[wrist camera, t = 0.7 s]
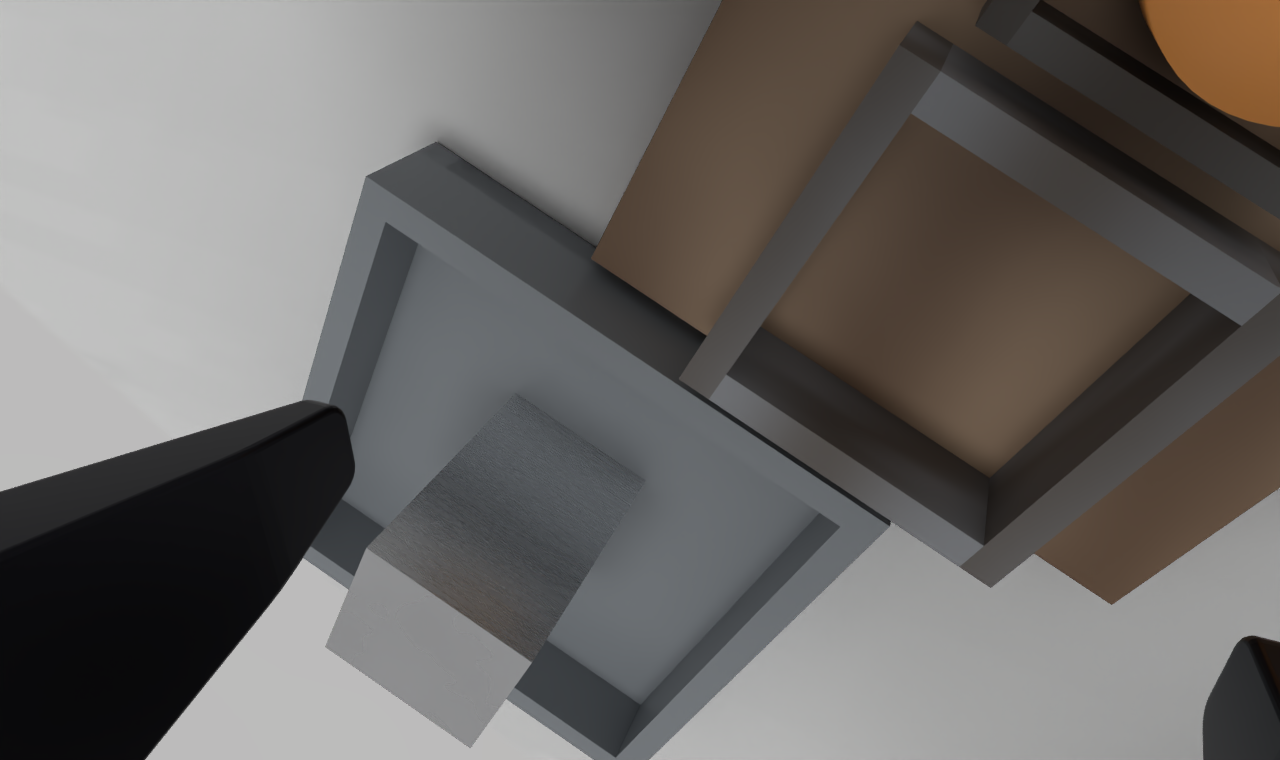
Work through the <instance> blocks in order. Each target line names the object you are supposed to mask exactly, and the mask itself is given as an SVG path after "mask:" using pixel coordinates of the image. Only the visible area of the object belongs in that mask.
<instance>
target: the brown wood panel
mask: <svg viewBox="0 0 1280 760" xmlns="http://www.w3.org/2000/svg"><path fill="white" fill-rule="evenodd" d="M591 259H592V260H593V261H595V262H596V263H598V264H599V265H601V266H602V267H604V268H605V269H607V270H608V271H610V272H611V273H613V274H614V275H616V276H617V277H619V278H621V279H622V280H624V281H625V282H627V283H628V284H630V285H631V286H633V287H634V288H636V289H637V290H639V291H640V292H642V293H643V294H645V295H646V296H648V297H649V298H651V299H652V300H654V301H655V302H657V303H658V304H660V305H661V306H663V307H664V308H666V309H667V310H669V311H670V312H672V313H673V314H675V315H676V316H678V317H679V318H681V319H682V320H684V321H685V322H687V323H688V324H690V325H691V326H693V327H694V328H696V329H697V330H699V331H700V332H702V333H703V334H705V335H706V336H707V337H706V338H705V340H704V341H703V343H702V344H701V346H700V347H699V349H698V350H697V352H696V353H695V355H694V356H693V358H692V359H691V361H690V362H689V364H688V365H687V367H686V368H685V370H684V371H683V373H682V374H681V376H680V377H679V380H681V381H682V382H684V383H685V384H687V385H688V386H690V387H691V388H693V389H694V390H696V391H697V392H698V393H700V394H701V395H703V396H704V397H706V398H707V399H709V400H710V401H712V402H713V403H715V404H716V405H718V406H719V407H721V408H722V409H724V410H725V411H727V412H728V413H730V414H731V415H733V416H734V417H736V418H737V419H739V420H740V421H742V422H743V423H745V424H746V425H748V426H749V427H751V428H752V429H754V430H755V431H757V432H758V433H760V434H761V435H763V436H764V437H766V438H767V439H769V440H770V441H772V442H773V443H775V444H776V445H778V446H779V447H781V448H782V449H784V450H785V451H787V452H788V453H790V454H791V455H793V456H794V457H796V458H797V459H799V460H800V461H802V462H803V463H805V464H806V465H808V466H809V467H811V468H812V469H814V470H815V471H817V472H818V473H820V474H821V475H823V476H824V477H826V478H827V479H829V480H830V481H832V482H833V483H835V484H836V485H838V486H839V487H841V488H842V489H844V490H845V491H847V492H848V493H850V494H851V495H853V496H854V497H856V498H857V499H859V500H860V501H862V502H863V503H865V504H866V505H868V506H869V507H871V508H872V509H874V510H875V511H877V512H878V513H880V514H881V515H883V516H884V517H886V518H887V519H889V520H890V521H892V522H893V523H895V524H896V525H898V526H899V527H901V528H902V529H904V530H905V531H906V532H908V533H909V534H911V535H912V536H914V537H915V538H917V539H918V540H920V541H921V542H923V543H924V544H926V545H927V546H929V547H930V548H932V549H933V550H935V551H936V552H938V553H939V554H941V555H942V556H944V557H945V558H947V559H948V560H950V561H951V562H953V563H954V564H956V565H957V566H959V567H960V568H962V569H963V570H965V571H966V572H968V573H969V574H971V575H972V576H974V577H975V578H977V579H978V580H980V581H981V582H983V583H984V584H986V585H987V586H989V587H990V588H991V587H992V586H994V585H995V584H996V583H997V582H999V581H1000V580H1001V579H1002V578H1004V577H1005V576H1006V575H1007V574H1009V573H1010V572H1011V571H1012V570H1014V569H1015V568H1016V567H1017V566H1019V565H1020V564H1021V563H1022V562H1024V561H1025V560H1026V559H1027V558H1029V557H1030V556H1031V555H1032V554H1036V555H1037V556H1039V557H1040V558H1042V559H1043V560H1045V561H1046V562H1048V563H1049V564H1051V565H1052V566H1054V567H1055V568H1057V569H1058V570H1060V571H1061V572H1063V573H1064V574H1066V575H1067V576H1069V577H1070V578H1072V579H1073V580H1075V581H1076V582H1078V583H1079V584H1081V585H1082V586H1084V587H1085V588H1087V589H1088V590H1090V591H1091V592H1093V593H1094V594H1096V595H1098V596H1099V597H1101V598H1102V599H1104V600H1105V601H1107V602H1108V603H1110V604H1111V605H1112V604H1114V603H1115V602H1117V601H1118V600H1119V599H1121V598H1122V597H1124V596H1125V595H1127V594H1128V593H1129V592H1131V591H1132V590H1134V589H1135V588H1137V587H1138V586H1139V585H1141V584H1142V583H1144V582H1145V581H1147V580H1148V579H1149V578H1151V577H1152V576H1154V575H1155V574H1157V573H1158V572H1159V571H1161V570H1162V569H1164V568H1165V567H1167V566H1168V565H1170V564H1171V563H1172V562H1174V561H1175V560H1177V559H1178V558H1180V557H1181V556H1182V555H1184V554H1185V553H1187V552H1188V551H1190V550H1191V549H1192V548H1194V547H1195V546H1197V545H1198V544H1200V543H1201V542H1202V541H1204V540H1205V539H1207V538H1208V537H1210V536H1211V535H1212V534H1214V533H1215V532H1217V531H1218V530H1220V529H1221V528H1223V527H1224V526H1225V525H1227V524H1228V523H1230V522H1231V521H1233V520H1234V519H1235V518H1237V517H1238V516H1240V515H1241V514H1243V513H1244V512H1245V511H1247V510H1248V509H1250V508H1251V507H1253V506H1254V505H1255V504H1257V503H1258V502H1260V501H1261V500H1263V499H1264V498H1265V497H1267V496H1268V495H1270V494H1271V493H1273V492H1274V491H1276V490H1277V489H1278V488H1280V127H1274V126H1268V125H1264V124H1259V123H1255V122H1250V121H1247V120H1244V119H1241V118H1239V117H1236V116H1233V115H1230V114H1228V113H1226V112H1224V111H1222V110H1220V109H1218V108H1216V107H1215V106H1213V105H1211V104H1209V103H1208V102H1206V101H1205V100H1204V99H1202V98H1201V97H1200V96H1198V95H1197V94H1196V93H1194V92H1193V91H1192V90H1191V89H1190V88H1189V87H1188V86H1187V85H1186V84H1185V83H1184V82H1183V81H1182V80H1181V79H1180V78H1179V77H1178V76H1177V74H1176V73H1175V71H1174V70H1173V68H1172V67H1171V66H1170V64H1169V63H1168V61H1167V60H1166V58H1165V56H1164V54H1163V53H1162V51H1161V49H1160V47H1159V46H1158V44H1157V42H1156V40H1155V39H1154V37H1153V35H1152V33H1151V31H1150V30H1149V27H1148V25H1147V23H1146V21H1145V19H1144V17H1143V15H1142V12H1141V8H1140V5H1139V1H1138V0H722V2H721V4H720V6H719V8H718V10H717V12H716V14H715V16H714V18H713V20H712V22H711V24H710V26H709V28H708V30H707V32H706V34H705V36H704V38H703V40H702V41H701V43H700V45H699V47H698V49H697V51H696V53H695V55H694V57H693V59H692V61H691V63H690V65H689V67H688V69H687V71H686V73H685V75H684V77H683V79H682V81H681V83H680V85H679V87H678V89H677V91H676V93H675V94H674V96H673V98H672V100H671V102H670V104H669V106H668V108H667V110H666V112H665V114H664V116H663V118H662V120H661V122H660V124H659V126H658V128H657V130H656V132H655V134H654V136H653V138H652V140H651V142H650V144H649V146H648V147H647V149H646V151H645V153H644V155H643V157H642V159H641V161H640V163H639V165H638V167H637V169H636V171H635V173H634V175H633V177H632V179H631V181H630V183H629V185H628V187H627V189H626V191H625V193H624V195H623V197H622V198H621V200H620V202H619V204H618V206H617V208H616V210H615V212H614V214H613V216H612V218H611V220H610V222H609V224H608V226H607V228H606V230H605V232H604V234H603V236H602V238H601V240H600V242H599V244H598V246H597V248H596V250H595V251H594V253H593V255H592V257H591Z"/></svg>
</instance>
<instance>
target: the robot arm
mask: <svg viewBox="0 0 1280 760" xmlns="http://www.w3.org/2000/svg"><path fill="white" fill-rule="evenodd" d="M354 474H355V459H354V454H353V449H352V444H351V439H350V434H349V429H348V424H347V419H346V416H345V414H344V413H343V411H342V410H341V409H340V408H339V407H337V406H335V405H331V404H327V403H323V402H319V401H315V400H303V401H299V402H296V403H293V404H289V405H286V406H283V407H279V408H276V409H273V410H269V411H266V412H263V413H260V414H256V415H253V416H250V417H246V418H243V419H240V420H236V421H233V422H230V423H226V424H223V425H220V426H216V427H213V428H210V429H207V430H203V431H200V432H197V433H193V434H190V435H187V436H183V437H180V438H177V439H173V440H170V441H167V442H164V443H160V444H157V445H153V446H150V447H147V448H144V449H140V450H137V451H134V452H130V453H127V454H124V455H120V456H117V457H114V458H111V459H107V460H104V461H101V462H98V463H94V464H91V465H88V466H84V467H81V468H77V469H74V470H71V471H68V472H64V473H61V474H58V475H54V476H51V477H47V478H44V479H41V480H37V481H34V482H31V483H28V484H24V485H21V486H18V487H14V488H11V489H8V490H4V491H1V492H0V760H145V759H146V758H147V757H148V755H149V754H150V753H151V752H152V750H153V749H154V748H155V747H156V745H157V744H158V743H159V742H160V741H161V739H162V738H163V737H164V736H165V734H166V733H167V732H168V730H169V729H170V728H171V727H172V726H173V724H174V723H175V722H176V721H177V719H178V718H179V717H180V716H181V714H182V713H183V712H184V711H185V709H186V708H187V707H188V706H189V705H190V703H191V702H192V701H193V700H194V698H195V697H196V696H197V695H198V693H199V692H200V691H201V690H202V688H203V687H204V686H205V685H206V683H207V682H208V681H209V680H210V678H211V677H212V676H213V675H214V673H215V672H216V671H217V670H218V668H219V667H220V666H221V665H222V664H223V662H224V661H225V660H226V658H227V657H228V656H229V655H230V654H231V652H232V651H233V650H234V649H235V647H236V646H237V645H238V644H239V642H240V641H241V640H242V639H243V638H244V636H245V635H246V634H247V633H248V631H249V630H250V629H251V628H252V626H253V625H254V624H255V623H256V621H257V620H258V619H259V618H260V616H261V615H262V614H263V613H264V611H265V610H266V609H267V608H268V606H269V605H270V604H271V603H272V601H273V600H274V599H275V597H276V596H277V595H278V593H279V592H280V591H281V589H282V588H283V587H284V585H285V584H286V582H287V581H288V579H289V578H290V576H291V575H292V574H293V572H294V570H295V569H296V568H297V566H298V565H299V563H300V561H301V560H302V558H303V557H304V555H305V554H306V552H307V551H308V549H309V548H310V546H311V545H312V543H313V542H314V540H315V539H316V537H317V536H318V534H319V533H320V531H321V530H322V528H323V526H324V525H325V523H326V522H327V520H328V519H329V517H330V516H331V514H332V513H333V511H334V510H335V508H336V507H337V505H338V504H339V502H340V501H341V499H342V498H343V496H344V494H345V493H346V491H347V490H348V488H349V487H350V485H351V483H352V480H353V478H354ZM1203 760H1280V642H1278V641H1274V640H1270V639H1266V638H1262V637H1258V636H1247V637H1244V638H1242V639H1241V640H1240V641H1239V642H1238V643H1237V644H1236V646H1235V648H1234V649H1233V651H1232V653H1231V655H1230V657H1229V659H1228V661H1227V663H1226V665H1225V667H1224V669H1223V671H1222V673H1221V674H1220V676H1219V678H1218V680H1217V682H1216V684H1215V686H1214V688H1213V690H1212V692H1211V694H1210V696H1209V698H1208V700H1207V703H1206V706H1205V711H1204V716H1203Z"/></svg>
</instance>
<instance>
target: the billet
mask: <svg viewBox="0 0 1280 760" xmlns="http://www.w3.org/2000/svg"><path fill="white" fill-rule="evenodd" d="M645 482H646V480H644V479H643V478H641V477H640V476H638V475H637V474H635V473H634V472H632V471H631V470H629V469H628V468H626V467H625V466H623V465H622V464H620V463H619V462H617V461H616V460H614V459H613V458H612V457H610V456H609V455H607V454H606V453H604V452H603V451H601V450H600V449H598V448H597V447H595V446H594V445H592V444H591V443H589V442H588V441H586V440H585V439H583V438H582V437H580V436H579V435H577V434H576V433H575V432H573V431H572V430H570V429H569V428H567V427H566V426H564V425H563V424H561V423H560V422H558V421H557V420H555V419H554V418H552V417H551V416H549V415H548V414H546V413H545V412H543V411H542V410H540V409H539V408H538V407H536V406H535V405H533V404H532V403H530V402H529V401H527V400H526V399H524V398H523V397H521V396H520V395H518V394H517V393H515V394H514V395H513V396H512V397H511V398H510V399H509V401H508V402H507V403H506V404H505V405H504V406H503V407H502V408H501V409H500V410H499V411H498V412H497V413H496V414H495V415H494V416H493V417H492V418H491V419H490V420H489V421H488V422H487V423H486V424H485V425H484V426H483V427H482V429H481V430H480V431H479V432H478V433H477V434H476V435H475V436H474V437H473V438H472V439H471V440H470V441H469V442H468V443H467V444H466V445H465V446H464V447H463V448H462V449H461V450H460V451H459V452H458V453H457V454H456V455H455V456H454V458H453V459H452V460H451V461H450V462H449V463H448V464H447V465H446V466H445V467H444V468H443V469H442V470H441V471H440V472H439V473H438V474H437V475H436V476H435V477H434V478H433V479H432V480H431V481H430V482H429V483H428V484H427V485H426V487H425V488H424V489H423V490H422V491H421V492H420V493H419V494H418V495H417V496H416V497H415V498H414V499H413V500H412V501H411V502H410V503H409V504H408V505H407V506H406V507H405V508H404V509H403V510H402V511H401V512H400V513H399V515H398V516H397V517H396V518H395V519H394V520H393V521H392V522H391V523H390V524H389V525H388V526H387V527H386V528H385V529H384V530H383V531H382V532H381V533H380V534H379V535H378V536H377V537H376V538H375V539H374V540H373V541H372V542H371V544H370V545H369V546H368V547H367V548H366V550H365V552H364V555H363V557H362V559H361V562H360V564H359V567H358V569H357V571H356V574H355V576H354V579H353V581H352V584H351V586H350V588H349V591H348V593H347V596H346V598H345V600H344V603H343V605H342V608H341V610H340V612H339V615H338V617H337V620H336V622H335V625H334V627H333V629H332V632H331V634H330V637H329V639H328V642H327V644H326V646H325V647H326V648H328V649H329V650H330V651H332V652H333V653H335V654H336V655H338V656H339V657H340V658H342V659H343V660H345V661H346V662H348V663H349V664H351V665H352V666H353V667H355V668H356V669H358V670H359V671H361V672H362V673H364V674H365V675H366V676H368V677H369V678H371V679H372V680H373V681H375V682H376V683H378V684H379V685H381V686H382V687H383V688H385V689H386V690H388V691H389V692H391V693H392V694H393V695H395V696H396V697H398V698H399V699H401V700H402V701H403V702H405V703H406V704H408V705H409V706H411V707H412V708H414V709H415V710H417V711H418V712H419V713H421V714H422V715H423V716H425V717H426V718H428V719H429V720H431V721H432V722H434V723H435V724H437V725H438V726H439V727H441V728H442V729H443V730H445V731H447V732H448V733H449V734H451V735H452V736H454V737H455V738H456V739H458V740H459V741H461V742H462V743H464V744H465V745H467V746H468V747H469V748H471V747H472V745H473V744H474V743H475V741H476V740H477V738H478V737H479V736H480V734H481V733H482V731H483V730H484V729H485V727H486V726H487V724H488V723H489V722H490V720H491V719H492V718H493V716H494V715H495V713H496V712H497V711H498V709H499V708H500V706H501V705H502V704H503V702H504V701H505V699H506V698H507V697H508V695H509V694H510V693H511V691H512V690H513V688H514V687H515V686H516V684H517V683H518V681H519V680H520V679H521V677H522V676H523V674H524V673H525V672H526V670H527V669H528V668H529V666H530V665H531V663H532V662H533V660H534V659H535V657H536V656H537V654H538V652H539V651H540V649H541V648H542V646H543V644H544V643H545V641H546V640H547V638H548V636H549V635H550V633H551V632H552V630H553V628H554V627H555V625H556V624H557V622H558V620H559V619H560V617H561V616H562V614H563V612H564V611H565V609H566V608H567V606H568V604H569V603H570V601H571V600H572V598H573V597H574V595H575V593H576V592H577V590H578V589H579V587H580V585H581V584H582V582H583V581H584V579H585V577H586V576H587V574H588V573H589V571H590V569H591V568H592V566H593V565H594V563H595V561H596V560H597V558H598V557H599V555H600V553H601V552H602V550H603V549H604V547H605V545H606V544H607V542H608V541H609V539H610V537H611V536H612V534H613V533H614V531H615V530H616V528H617V526H618V525H619V523H620V522H621V520H622V518H623V517H624V515H625V514H626V512H627V510H628V509H629V507H630V506H631V504H632V502H633V501H634V499H635V498H636V496H637V494H638V493H639V491H640V490H641V488H642V486H643V485H644V483H645Z"/></svg>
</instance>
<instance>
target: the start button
mask: <svg viewBox="0 0 1280 760" xmlns="http://www.w3.org/2000/svg"><path fill="white" fill-rule="evenodd" d="M1138 1H1139V5H1140V8H1141V12H1142V15H1143V17H1144V19H1145V21H1146V23H1147V25H1148V27H1149V30H1150V31H1151V33H1152V35H1153V37H1154V39H1155V40H1156V42H1157V44H1158V46H1159V47H1160V49H1161V51H1162V53H1163V54H1164V56H1165V58H1166V60H1167V61H1168V63H1169V64H1170V66H1171V67H1172V68H1173V70H1174V71H1175V73H1176V74H1177V76H1178V77H1179V78H1180V79H1181V80H1182V81H1183V82H1184V83H1185V84H1186V85H1187V86H1188V87H1189V88H1190V89H1191V90H1192V91H1193V92H1194V93H1196V94H1197V95H1198V96H1200V97H1201V98H1202V99H1204V100H1205V101H1206V102H1208V103H1209V104H1211V105H1213V106H1215V107H1216V108H1218V109H1220V110H1222V111H1224V112H1226V113H1228V114H1230V115H1233V116H1236V117H1239V118H1241V119H1244V120H1247V121H1250V122H1255V123H1259V124H1264V125H1268V126H1274V127H1280V0H1138Z"/></svg>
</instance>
